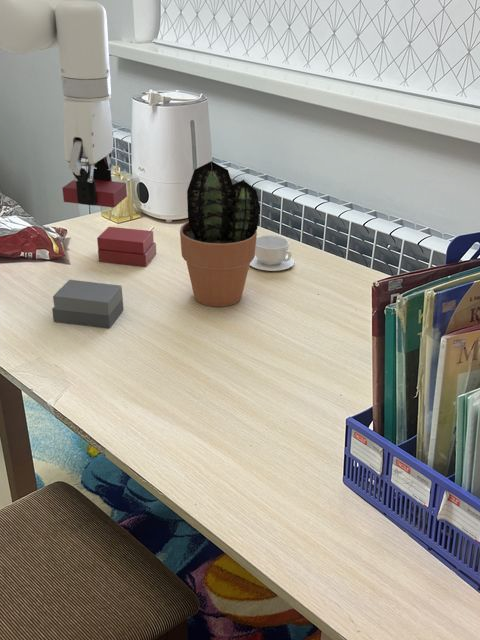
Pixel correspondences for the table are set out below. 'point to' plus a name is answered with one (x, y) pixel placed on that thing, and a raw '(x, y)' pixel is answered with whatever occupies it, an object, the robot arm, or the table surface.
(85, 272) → the table surface
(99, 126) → the robot arm
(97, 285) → the grey book stack
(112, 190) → the burgundy book
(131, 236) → the burgundy book stack
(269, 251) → the teacup
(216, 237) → the potted plant
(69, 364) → the table surface
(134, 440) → the table surface
